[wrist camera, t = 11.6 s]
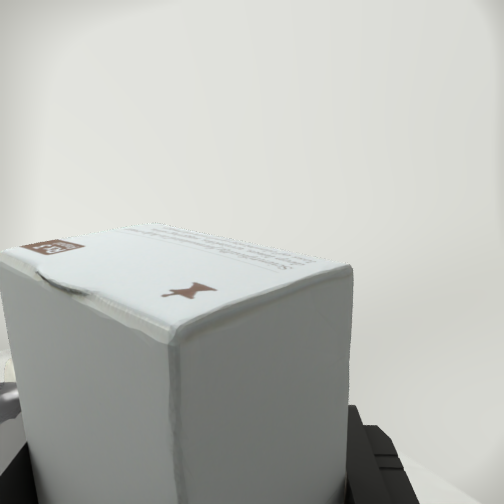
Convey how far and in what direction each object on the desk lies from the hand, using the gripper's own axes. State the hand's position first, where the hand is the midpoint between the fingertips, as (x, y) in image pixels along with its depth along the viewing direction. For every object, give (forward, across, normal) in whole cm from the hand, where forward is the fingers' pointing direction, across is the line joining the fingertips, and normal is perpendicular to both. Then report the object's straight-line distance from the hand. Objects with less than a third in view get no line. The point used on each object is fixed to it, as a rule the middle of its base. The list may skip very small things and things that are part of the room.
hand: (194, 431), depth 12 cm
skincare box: (-2, 0, +7) cm, 7 cm away
